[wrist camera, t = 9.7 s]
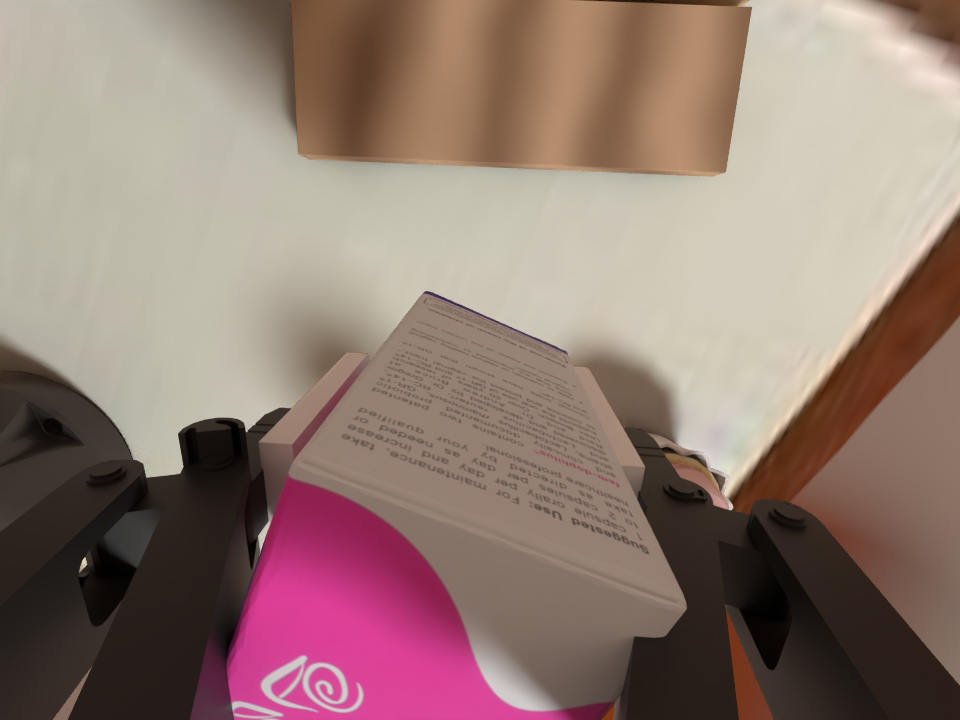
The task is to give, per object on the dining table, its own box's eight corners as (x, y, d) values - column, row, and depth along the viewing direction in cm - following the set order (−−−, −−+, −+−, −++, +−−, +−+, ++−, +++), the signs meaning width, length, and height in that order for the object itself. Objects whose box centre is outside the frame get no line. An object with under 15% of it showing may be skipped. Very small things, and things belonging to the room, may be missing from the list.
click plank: (736, 21, 25) (751, 7, 24) (712, 176, 27) (725, 172, 26) (302, 4, 26) (290, -11, 24) (308, 159, 28) (297, 154, 26)
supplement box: (419, 284, 16) (289, 449, 5) (569, 349, 17) (724, 611, 6) (364, 421, 18) (182, 756, 7) (503, 475, 19) (532, 854, 8)
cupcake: (652, 538, 37) (708, 654, 27) (552, 487, 35) (574, 591, 26) (728, 447, 34) (819, 542, 25) (622, 389, 33) (676, 465, 23)
